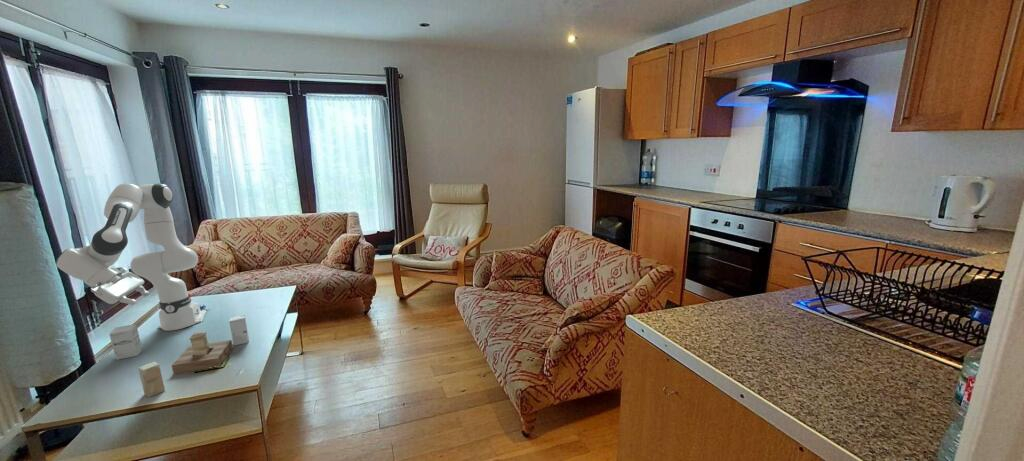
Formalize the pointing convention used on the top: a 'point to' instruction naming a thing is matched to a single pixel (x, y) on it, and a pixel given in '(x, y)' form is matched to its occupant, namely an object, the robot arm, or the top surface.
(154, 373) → the box
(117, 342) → the supplement box
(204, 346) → the peg
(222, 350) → the square hole block
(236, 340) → the skincare box
